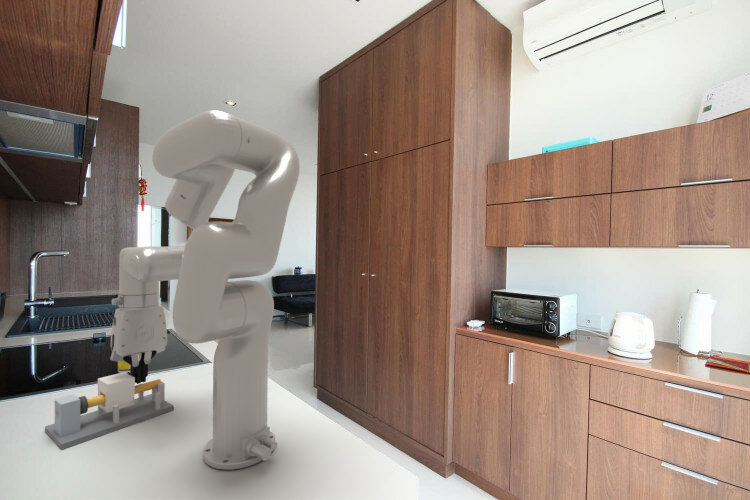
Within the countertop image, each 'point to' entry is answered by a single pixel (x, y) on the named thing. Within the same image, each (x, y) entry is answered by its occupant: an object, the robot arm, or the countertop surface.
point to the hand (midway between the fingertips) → (139, 381)
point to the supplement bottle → (124, 366)
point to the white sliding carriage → (116, 390)
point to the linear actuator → (103, 415)
